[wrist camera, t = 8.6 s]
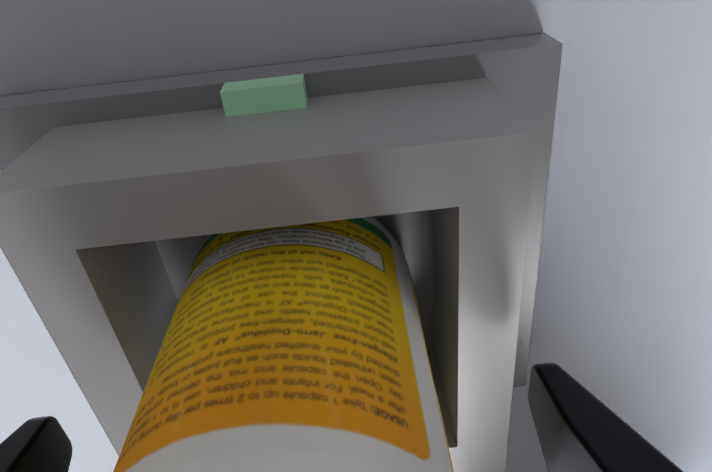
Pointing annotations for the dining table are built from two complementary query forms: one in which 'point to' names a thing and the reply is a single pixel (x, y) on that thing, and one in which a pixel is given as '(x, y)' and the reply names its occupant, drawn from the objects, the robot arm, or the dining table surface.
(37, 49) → the dining table surface
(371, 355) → the supplement bottle
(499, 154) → the charging dock
